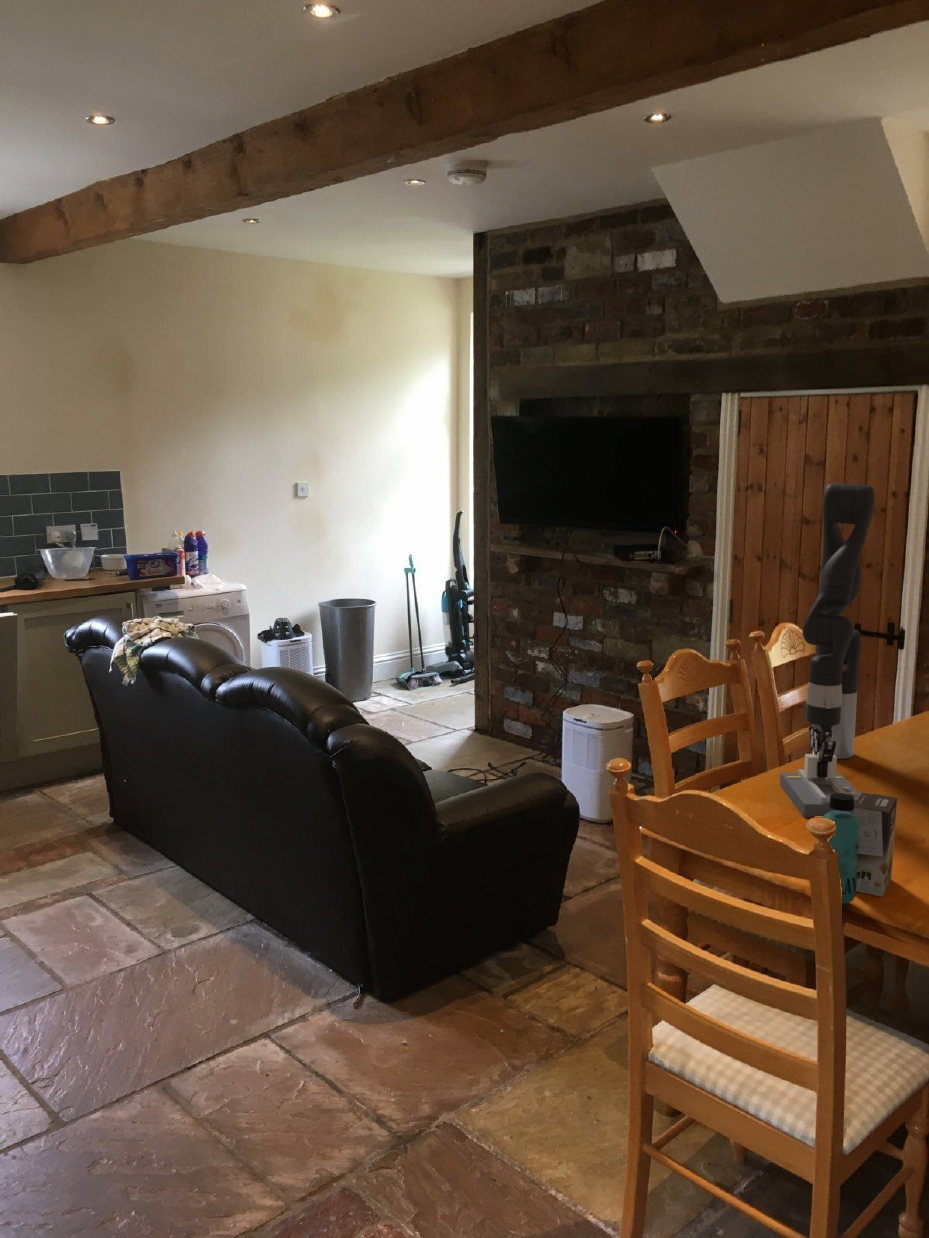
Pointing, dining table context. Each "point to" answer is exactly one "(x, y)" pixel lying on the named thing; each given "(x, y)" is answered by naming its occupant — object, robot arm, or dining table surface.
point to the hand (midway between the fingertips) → (819, 774)
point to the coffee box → (875, 842)
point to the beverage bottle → (845, 842)
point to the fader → (811, 769)
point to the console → (814, 792)
